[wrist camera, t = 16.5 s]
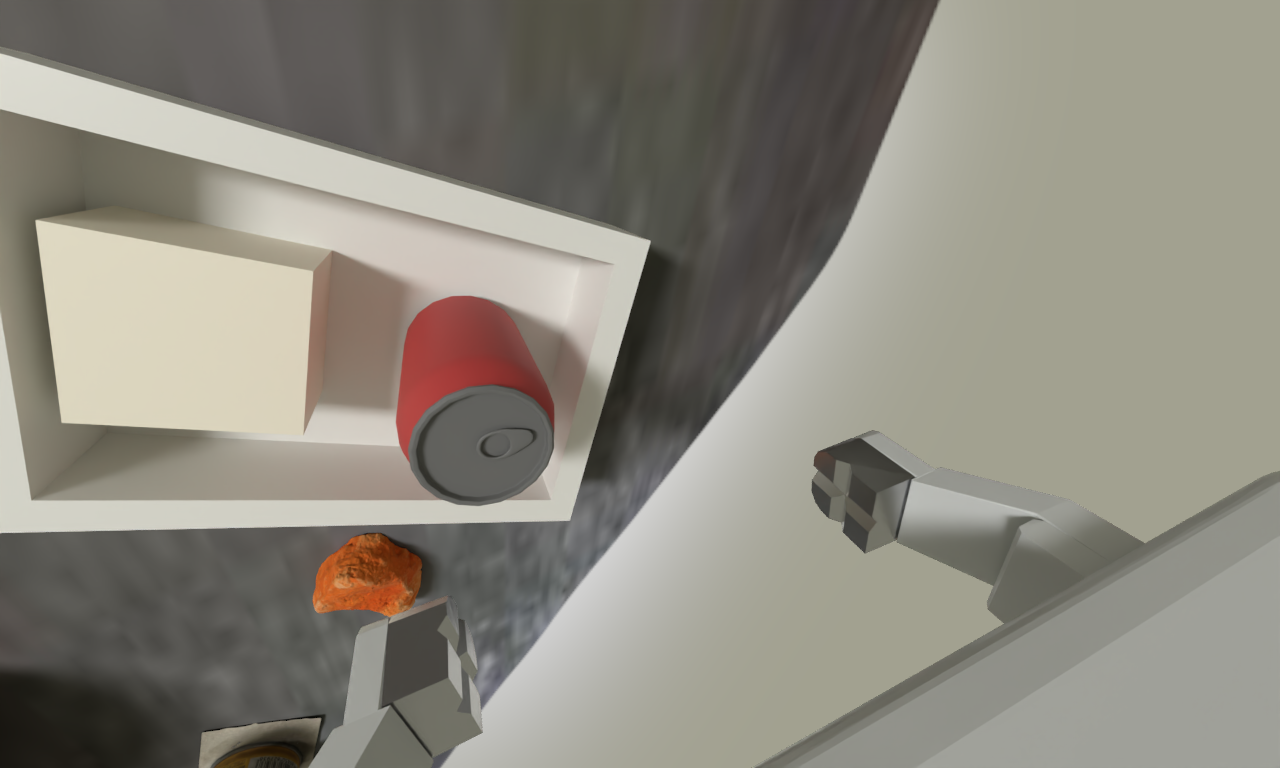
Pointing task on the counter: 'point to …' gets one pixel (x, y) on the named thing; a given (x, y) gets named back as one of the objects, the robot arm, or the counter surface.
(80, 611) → the counter surface
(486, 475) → the beer can
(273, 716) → the counter surface
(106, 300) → the cream rectangular box
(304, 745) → the condiment
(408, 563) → the rock
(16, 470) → the tray
